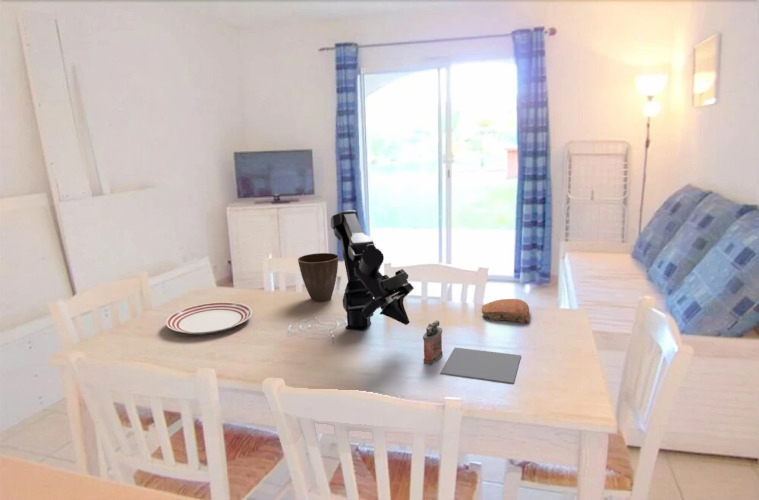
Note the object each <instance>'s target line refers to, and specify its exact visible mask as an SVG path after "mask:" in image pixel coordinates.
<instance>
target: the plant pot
mask: <svg viewBox="0 0 759 500" xmlns="http://www.w3.org/2000/svg"><path fill="white" fill-rule="evenodd" d="M339 258H340V257H339V254H336V253H332V252H331V253H329V252H317V253H310V254H309V253H308V254H305V255H302V256H300V257H298V258H297V262H298V266H299V270H300V275H301V277H302V280H303V283H304V286H305V289H306V291H307V293H308V295H309V297H310V299H311V301H312V302H315V303H316V302H317V303H321V302H328V301H329V300H331V299H332V297H333V293H334V290H335V286H336V283H337V277H338V276H337V275H338V270H339V269H338V268H339Z"/></svg>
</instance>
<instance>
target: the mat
mask: <svg viewBox="0 0 759 500" xmlns="http://www.w3.org/2000/svg"><path fill="white" fill-rule="evenodd" d="M521 358H522V355H521V354H514V353H505V352H496V351H490V350H489V351H487V350H481V349H480V350H479V349H471V348H470V349H469V348H463V347H454V348H453V350H452V352H451V353H450V355H449V357H448V358H447V359H446V361H445V364H444V365H443V366H442V369H441V370H440V372H439V374H440V375H446V376H447V375H449V376H454V377H463V378H470V379H476V380H484V381H491V382H498V383H505V384H513V385H514V383H515V378H516V376H517V372H518V367H519V364H520V361H521Z"/></svg>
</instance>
